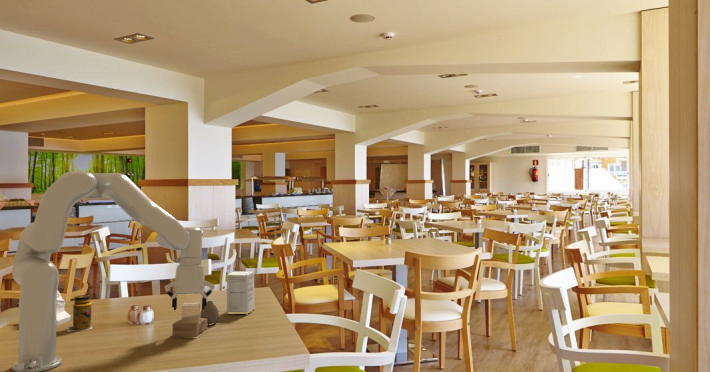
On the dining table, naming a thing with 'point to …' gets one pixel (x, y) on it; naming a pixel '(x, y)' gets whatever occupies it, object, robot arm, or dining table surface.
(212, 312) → the vase
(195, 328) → the walnut block
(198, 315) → the oak cube
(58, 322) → the white faceted lump
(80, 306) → the condiment
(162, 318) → the dining table surface
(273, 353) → the dining table surface
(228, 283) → the supplement box
